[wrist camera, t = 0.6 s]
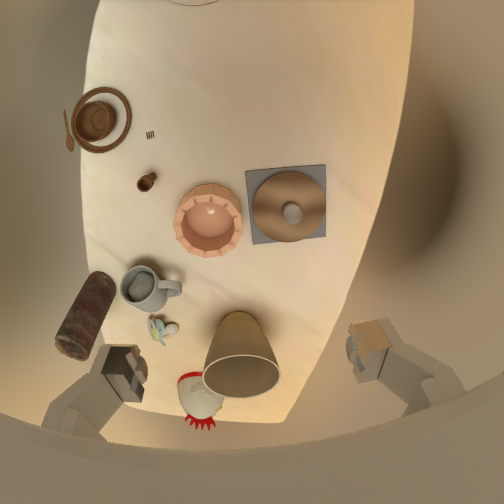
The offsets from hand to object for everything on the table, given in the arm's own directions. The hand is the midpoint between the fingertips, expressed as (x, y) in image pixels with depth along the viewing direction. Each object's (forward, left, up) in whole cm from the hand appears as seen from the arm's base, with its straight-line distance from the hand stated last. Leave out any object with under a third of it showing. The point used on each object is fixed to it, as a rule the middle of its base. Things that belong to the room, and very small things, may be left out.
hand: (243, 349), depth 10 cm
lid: (+11, +8, -41) cm, 43 cm away
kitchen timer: (+62, -18, -42) cm, 76 cm away
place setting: (-6, -22, -42) cm, 48 cm away
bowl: (+11, -6, -41) cm, 43 cm away
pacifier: (+35, -23, -43) cm, 60 cm away
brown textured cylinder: (+24, -33, -42) cm, 58 cm away
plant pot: (+38, -4, -42) cm, 56 cm away
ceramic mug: (+23, -19, -42) cm, 51 cm away
